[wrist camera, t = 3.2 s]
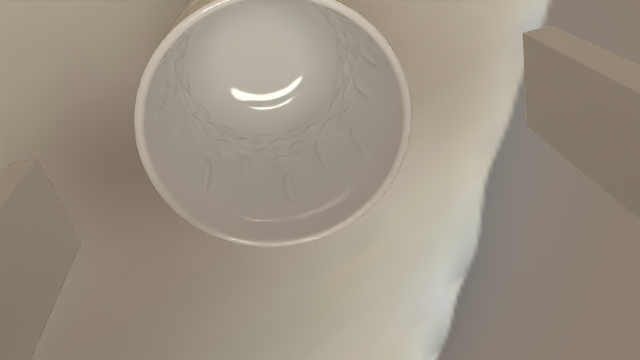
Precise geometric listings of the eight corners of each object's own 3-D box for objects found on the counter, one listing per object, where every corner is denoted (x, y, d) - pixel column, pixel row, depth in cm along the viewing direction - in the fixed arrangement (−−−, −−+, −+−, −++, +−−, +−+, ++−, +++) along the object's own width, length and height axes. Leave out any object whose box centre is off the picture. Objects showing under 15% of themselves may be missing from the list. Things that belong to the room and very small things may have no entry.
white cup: (194, 145, 27) (178, 271, 18) (143, -30, 23) (92, 19, 14) (358, 112, 27) (421, 219, 18) (334, -66, 24) (399, -39, 15)
